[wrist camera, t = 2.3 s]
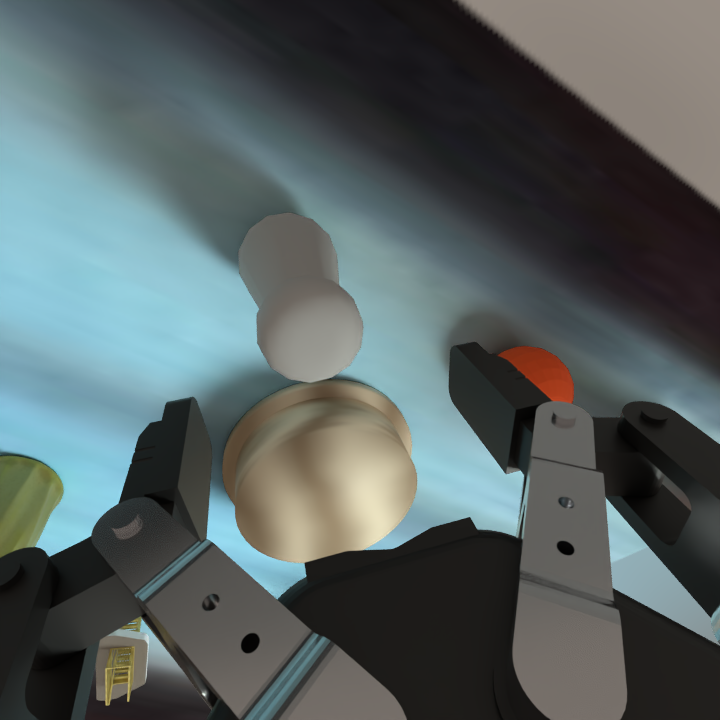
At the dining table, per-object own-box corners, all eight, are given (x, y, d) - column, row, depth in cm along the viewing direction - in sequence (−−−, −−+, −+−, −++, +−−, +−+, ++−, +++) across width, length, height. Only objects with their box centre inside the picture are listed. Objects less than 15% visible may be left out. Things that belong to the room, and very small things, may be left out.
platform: (208, 546, 39) (203, 616, 33) (191, 655, 47) (185, 727, 41) (56, 551, 35) (22, 632, 29) (65, 670, 43) (40, 752, 37)
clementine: (554, 373, 38) (613, 421, 32) (492, 419, 39) (538, 474, 33) (519, 315, 34) (578, 357, 28) (450, 368, 35) (494, 421, 29)
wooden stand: (406, 361, 34) (430, 396, 29) (409, 498, 42) (428, 541, 38) (199, 402, 31) (192, 447, 27) (246, 540, 39) (247, 591, 35)
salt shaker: (341, 274, 29) (404, 373, 18) (264, 308, 29) (279, 428, 18) (308, 189, 25) (358, 245, 15) (220, 227, 25) (206, 311, 14)
